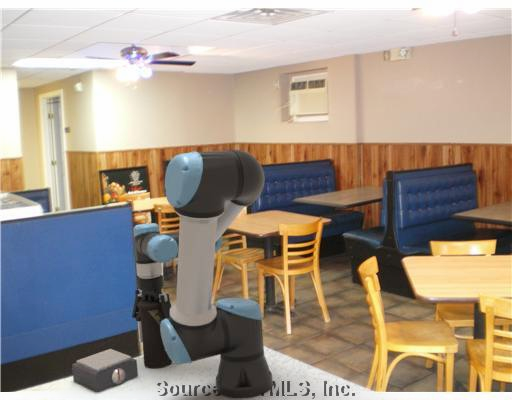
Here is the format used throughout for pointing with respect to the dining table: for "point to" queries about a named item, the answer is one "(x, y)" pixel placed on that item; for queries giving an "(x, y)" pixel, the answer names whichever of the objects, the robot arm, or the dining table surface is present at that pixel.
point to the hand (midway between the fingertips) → (156, 345)
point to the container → (152, 335)
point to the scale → (104, 370)
